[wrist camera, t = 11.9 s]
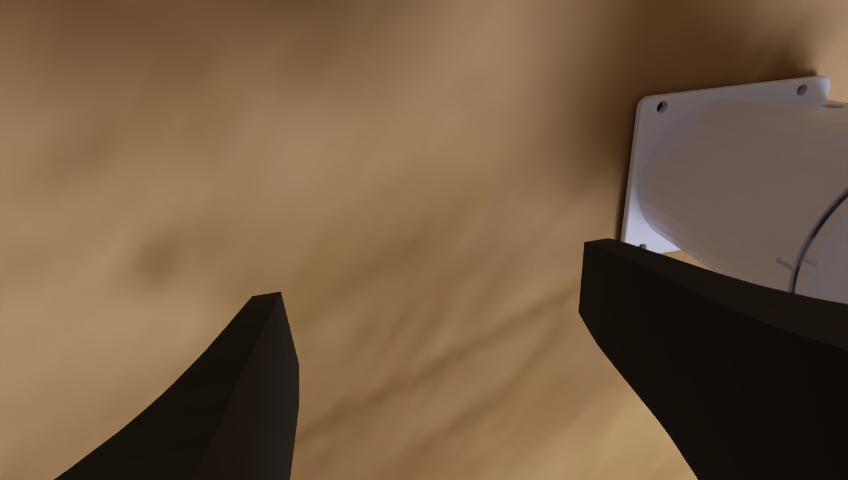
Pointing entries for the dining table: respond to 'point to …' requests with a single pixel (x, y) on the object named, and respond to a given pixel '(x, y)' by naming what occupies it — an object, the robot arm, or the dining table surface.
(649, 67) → the dining table surface
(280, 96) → the dining table surface
